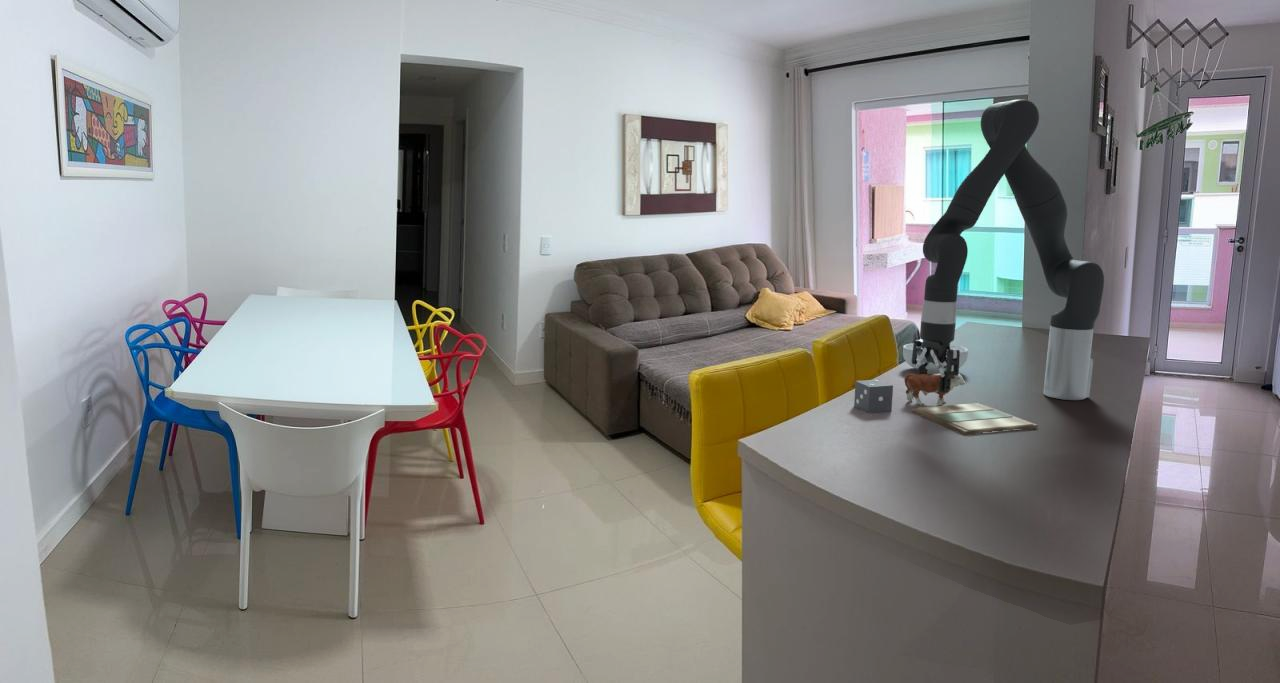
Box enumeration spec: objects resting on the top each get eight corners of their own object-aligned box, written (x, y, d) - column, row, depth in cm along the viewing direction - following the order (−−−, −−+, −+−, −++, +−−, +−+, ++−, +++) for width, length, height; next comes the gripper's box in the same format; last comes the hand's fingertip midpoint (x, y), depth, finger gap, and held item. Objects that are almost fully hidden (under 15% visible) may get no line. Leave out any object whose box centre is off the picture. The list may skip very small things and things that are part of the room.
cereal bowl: (964, 367, 222) (966, 343, 220) (968, 380, 206) (970, 354, 205) (901, 363, 227) (903, 340, 226) (901, 375, 212) (902, 350, 210)
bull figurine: (964, 408, 179) (967, 373, 177) (903, 404, 182) (906, 371, 180) (960, 403, 183) (963, 369, 182) (901, 400, 186) (903, 367, 184)
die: (876, 404, 182) (878, 379, 181) (891, 411, 176) (893, 385, 175) (853, 406, 180) (855, 380, 179) (868, 412, 174) (869, 386, 173)
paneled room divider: (979, 406, 180) (979, 402, 180) (1037, 428, 163) (1038, 424, 163) (912, 412, 175) (912, 407, 175) (964, 435, 158) (965, 430, 158)
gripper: (972, 324, 173) (966, 394, 176) (933, 315, 186) (927, 380, 189) (944, 325, 171) (937, 396, 174) (906, 315, 184) (900, 382, 187)
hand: (932, 388), depth 182 cm, fingers open, 8 cm apart
